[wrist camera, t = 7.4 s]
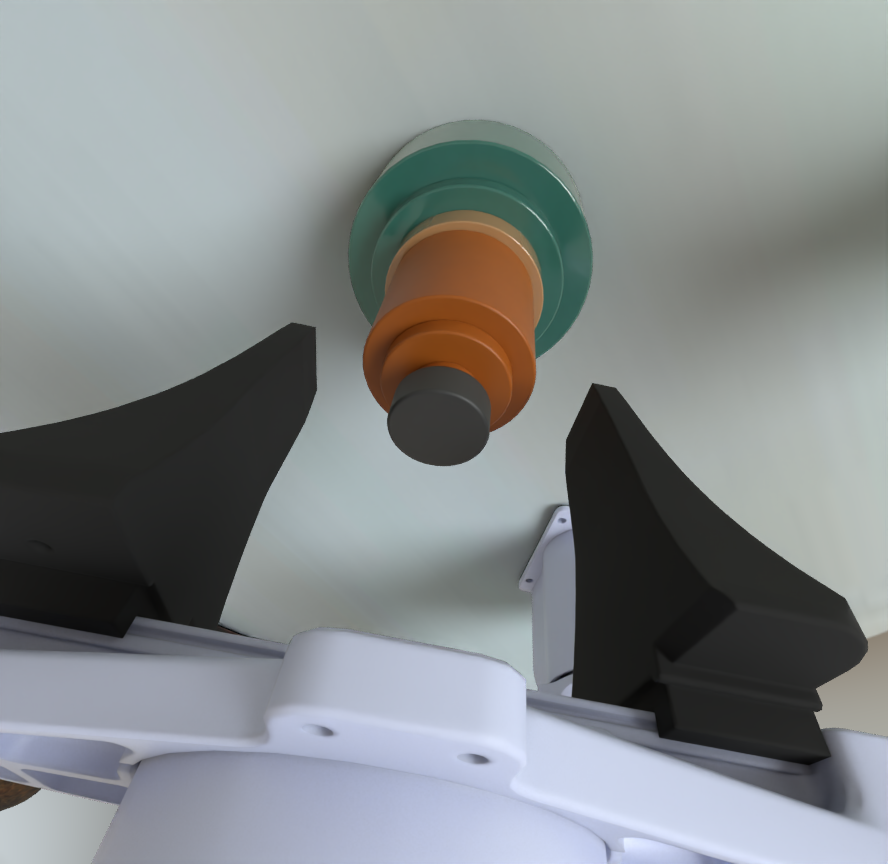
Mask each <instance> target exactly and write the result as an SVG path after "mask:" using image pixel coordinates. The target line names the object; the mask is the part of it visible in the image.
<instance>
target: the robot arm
mask: <svg viewBox="0 0 888 864" xmlns="http://www.w3.org/2000/svg"><path fill="white" fill-rule="evenodd" d="M316 391H317V376H316V327H312V326H307V325H302V324H297V323H290V324H288V325H286V326H285V327H283V328H281V329H280V330H278V331H277V332H275V333H273V334H272V335H270V336H269V337H267V338H265V339H264V340H262V341H261V342H259V343H257V344H256V345H254V346H252V347H251V348H249V349H247V350H246V351H244V352H242V353H241V354H239V355H237V356H236V357H234V358H232V359H230V360H228V361H226V362H225V363H223V364H221V365H219V366H217V367H215V368H213V369H211V370H210V371H208V372H206V373H204V374H202V375H200V376H198V377H196V378H194V379H191V380H189V381H187V382H185V383H182V384H180V385H178V386H175V387H173V388H170V389H168V390H165V391H163V392H160V393H158V394H155V395H152V396H149V397H146V398H143V399H140V400H137V401H134V402H131V403H128V404H125V405H122V406H119V407H116V408H113V409H109V410H106V411H102V412H98V413H95V414H91V415H87V416H83V417H79V418H75V419H71V420H66V421H62V422H57V423H53V424H47V425H42V426H37V427H31V428H26V429H21V430H15V431H10V432H4V433H0V779H2V780H6V781H11V782H15V783H20V784H24V785H28V786H33V787H37V788H42V789H46V790H50V791H55V792H59V793H63V794H68V795H72V796H77V797H82V798H86V799H90V800H94V801H99V802H103V803H107V804H112V805H117V806H119V807H118V809H117V812H116V814H115V816H114V818H113V820H112V822H111V824H110V826H109V828H108V830H107V832H106V834H105V836H104V838H103V840H102V842H101V844H100V846H99V849H98V851H97V853H96V855H95V857H94V859H93V861H92V863H91V864H888V737H886V736H881V735H876V734H870V733H864V732H859V731H854V730H849V729H843V728H826V729H820V727H819V724H818V722H817V719H816V717H815V714H814V712H818V711H820V710H822V702H821V700H820V698H819V695H818V693H817V690H816V688H817V687H819V686H821V685H823V684H825V683H827V682H829V681H830V680H832V679H834V678H836V677H838V676H839V675H841V674H843V673H845V672H847V671H848V670H850V669H851V668H853V667H854V666H856V665H857V664H859V663H860V661H861V660H862V658H863V657H864V655H865V654H866V652H867V651H868V641H867V639H866V637H865V635H864V634H863V632H862V630H861V628H860V626H859V624H858V622H857V620H856V618H855V616H854V614H853V612H852V611H851V609H850V607H849V605H848V603H847V601H846V599H845V598H844V597H842V596H841V595H839V594H838V593H836V592H834V591H833V590H831V589H830V588H828V587H826V586H825V585H823V584H822V583H820V582H818V581H817V580H815V579H814V578H812V577H811V576H809V575H807V574H806V573H804V572H803V571H801V570H799V569H798V568H796V567H795V566H793V565H792V564H791V563H789V562H788V561H786V560H785V559H784V558H782V557H781V556H779V555H778V554H777V553H775V552H774V551H772V550H771V549H770V548H768V547H767V546H765V545H764V544H763V543H761V542H760V541H759V540H758V539H756V538H755V537H754V536H752V535H751V534H750V533H748V532H747V531H746V530H745V529H744V528H742V527H741V526H740V525H739V524H738V523H736V522H735V521H734V520H733V519H732V518H730V517H729V516H728V515H727V514H726V513H724V512H723V511H722V510H721V509H720V508H719V507H718V506H717V505H715V504H714V503H713V502H712V501H711V500H710V499H709V498H708V497H707V496H706V495H705V494H704V493H703V492H702V491H701V490H700V489H699V488H698V487H697V486H696V485H695V484H694V483H693V482H692V481H691V480H690V479H689V478H688V477H687V476H686V475H685V474H684V473H683V472H682V471H681V469H680V468H679V467H678V466H677V465H676V464H675V463H674V462H673V460H672V459H671V458H670V457H669V456H668V455H667V453H666V452H665V451H664V450H663V449H662V447H661V446H660V445H659V444H658V442H657V441H656V440H655V439H654V437H653V436H652V435H651V434H650V432H649V431H648V430H647V428H646V427H645V426H644V424H643V423H642V422H641V420H640V419H639V418H638V416H637V415H636V414H635V412H634V411H633V410H632V408H631V407H630V406H629V404H628V403H627V402H626V400H625V399H624V398H623V396H622V395H621V394H620V393H619V391H618V390H617V389H616V388H614V387H609V386H604V385H599V384H594V383H592V385H591V387H590V389H589V392H588V394H587V396H586V398H585V400H584V402H583V405H582V407H581V409H580V411H579V413H578V415H577V418H576V420H575V422H574V424H573V426H572V428H571V431H570V433H569V435H568V437H567V439H566V463H565V474H566V483H567V492H568V500H569V506H560V507H558V508H557V509H556V510H555V512H554V514H553V516H552V518H551V520H550V522H549V524H548V526H547V528H546V530H545V532H544V534H543V536H542V537H541V539H540V541H539V543H538V545H537V547H536V549H535V551H534V553H533V555H532V557H531V559H530V561H529V563H528V565H527V567H526V569H525V571H524V573H523V575H522V577H521V579H520V580H519V583H518V587H519V589H520V590H522V591H527V592H532V636H533V671H534V677H535V681H536V684H537V687H538V691H535V690H530V689H526V679H525V678H524V677H523V676H522V675H521V674H520V673H519V672H518V671H517V670H515V669H514V668H513V667H512V666H510V665H509V664H508V663H507V662H505V661H502V660H499V659H496V658H492V657H489V656H486V655H483V654H479V653H474V652H469V651H463V650H458V649H453V648H447V647H442V646H437V645H431V644H426V643H421V642H415V641H410V640H405V639H399V638H394V637H389V636H383V635H378V634H373V633H367V632H362V631H357V630H351V629H343V628H328V627H319V628H315V629H311V630H308V631H304V632H301V633H298V634H296V635H294V636H293V638H292V640H291V642H290V643H289V645H288V644H283V643H278V642H272V641H267V640H262V639H256V638H251V637H245V636H240V635H235V634H229V633H224V632H219V631H216V629H217V626H218V623H219V620H220V617H221V614H222V611H223V608H224V605H225V602H226V599H227V596H228V593H229V590H230V588H231V585H232V582H233V579H234V576H235V573H236V571H237V568H238V565H239V562H240V560H241V557H242V554H243V552H244V549H245V546H246V544H247V541H248V538H249V536H250V533H251V530H252V528H253V526H254V523H255V521H256V518H257V516H258V513H259V511H260V508H261V506H262V503H263V501H264V499H265V496H266V494H267V492H268V490H269V488H270V486H271V484H272V482H273V481H274V479H275V477H276V475H277V473H278V471H279V469H280V468H281V466H282V464H283V462H284V460H285V458H286V457H287V455H288V453H289V451H290V449H291V447H292V446H293V444H294V442H295V440H296V438H297V436H298V434H299V433H300V431H301V429H302V427H303V425H304V423H305V421H306V418H307V416H308V413H309V411H310V408H311V405H312V402H313V399H314V397H315V394H316ZM813 711H814V712H813Z"/></svg>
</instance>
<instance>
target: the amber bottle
mask: <svg viewBox="0 0 888 864" xmlns="http://www.w3.org/2000/svg"><path fill="white" fill-rule="evenodd" d="M363 370H364V375H365V379H366V382H367V385H368V387H369V389H370V391H371V393H372V395H373V396H374V398H375V399H376V401H377V402H378V403H379V405H380V406H381V407H382V408H383V409H384V410H385V411H386V412H387V413H388V418H387V426H388V431H389V434H390V437H391V439H392V440H393V442H394V443H395V445H396V446H397V447H398V448H399V449H400V450H401V451H402V452H403V453H405V454H406V455H407V456H409V457H411V458H412V459H414V460H417V461H419V462H422V463H425V464H429V465H435V466H452V465H457V464H461V463H464V462H467V461H469V460H471V459H472V458H474V457H475V456H476V455H478V454H479V453H480V452H481V451H482V449H483V448H484V447H485V445H486V443H487V441H488V438H489V432H492V431H494V430H496V429H498V428H500V427H502V426H504V425H505V424H507V423H508V422H510V421H511V420H512V419H513V418H514V417H515V416H517V415H518V413H519V412H520V411H521V410H522V409H523V408H524V406H525V405H526V403H527V402H528V400H529V398H530V396H531V393H532V391H533V388H534V384H535V378H536V359H535V333H534V307H533V289H532V284H531V280H530V277H529V274H528V272H527V270H526V268H525V266H524V264H523V263H522V262H521V260H520V259H519V257H518V256H517V255H516V254H515V253H514V252H513V251H512V250H511V249H510V248H509V247H507V246H506V245H505V244H504V243H502V242H500V241H499V240H497V239H495V238H493V237H491V236H488V235H486V234H483V233H479V232H475V231H468V230H452V231H445V232H441V233H437V234H434V235H432V236H430V237H427V238H426V239H424V240H422V241H420V242H419V243H418V244H416V245H415V246H414V247H413V248H411V249H410V250H409V252H408V253H407V254H406V255H405V256H404V257H403V259H402V260H401V262H400V264H399V266H398V268H397V270H396V272H395V274H394V276H393V279H392V281H391V283H390V286H389V288H388V290H387V293H386V295H385V298H384V300H383V302H382V305H381V307H380V309H379V312H378V314H377V316H376V319H375V321H374V323H373V326H372V328H371V330H370V333H369V335H368V337H367V340H366V343H365V346H364V352H363Z"/></svg>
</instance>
